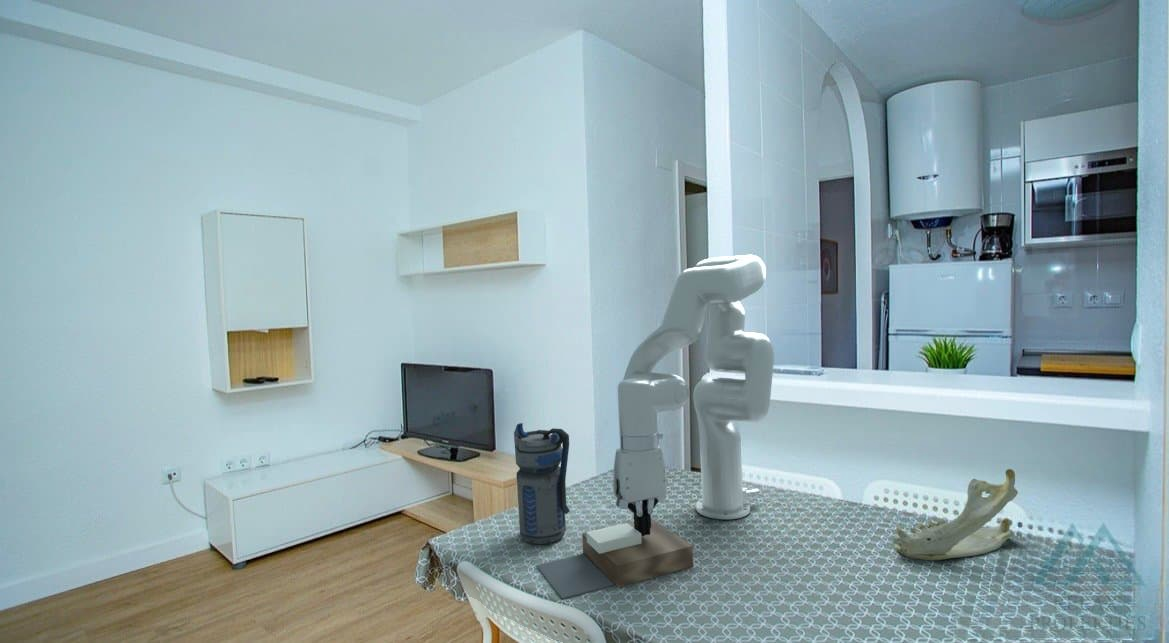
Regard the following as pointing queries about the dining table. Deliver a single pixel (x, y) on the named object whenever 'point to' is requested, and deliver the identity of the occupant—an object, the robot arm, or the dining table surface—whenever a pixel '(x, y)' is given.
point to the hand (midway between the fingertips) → (642, 532)
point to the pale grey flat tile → (613, 538)
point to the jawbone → (963, 526)
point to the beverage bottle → (541, 483)
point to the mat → (574, 576)
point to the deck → (643, 557)
